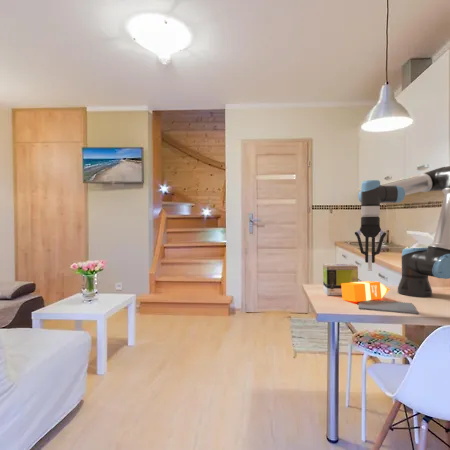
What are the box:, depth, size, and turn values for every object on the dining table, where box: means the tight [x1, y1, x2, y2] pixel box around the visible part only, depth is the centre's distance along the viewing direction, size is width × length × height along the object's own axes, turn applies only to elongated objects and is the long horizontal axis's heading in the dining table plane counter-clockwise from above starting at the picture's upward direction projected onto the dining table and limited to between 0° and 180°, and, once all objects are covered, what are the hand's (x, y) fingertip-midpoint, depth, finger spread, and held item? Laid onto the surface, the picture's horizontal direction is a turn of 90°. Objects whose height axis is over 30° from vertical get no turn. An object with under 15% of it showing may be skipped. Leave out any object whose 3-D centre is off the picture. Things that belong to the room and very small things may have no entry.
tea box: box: [322, 263, 359, 296], centre depth 170 cm, size 15×10×15 cm
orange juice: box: [341, 280, 391, 303], centre depth 156 cm, size 8×9×20 cm
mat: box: [357, 299, 419, 315], centre depth 145 cm, size 22×16×1 cm
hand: (369, 270), depth 147 cm, fingers closed
